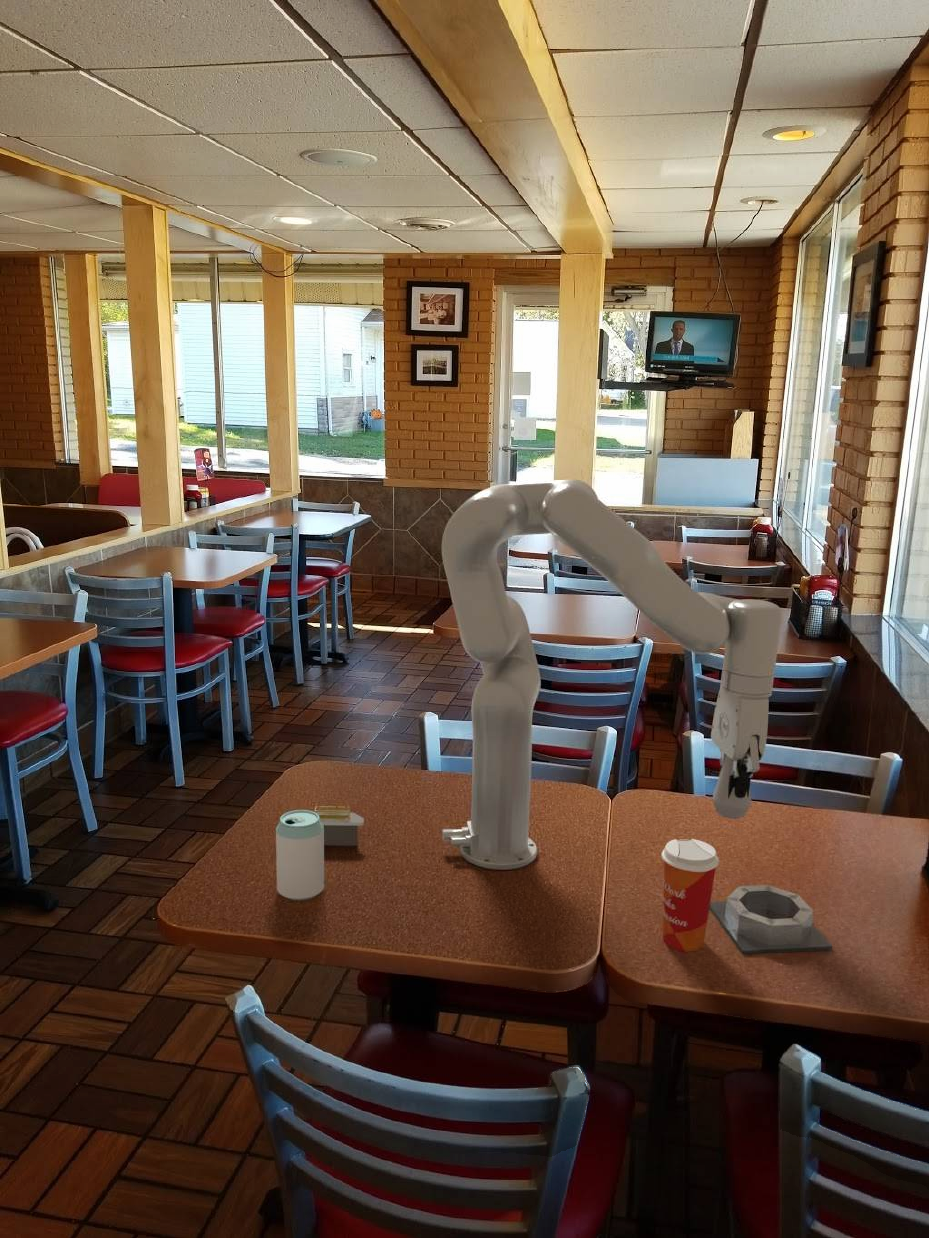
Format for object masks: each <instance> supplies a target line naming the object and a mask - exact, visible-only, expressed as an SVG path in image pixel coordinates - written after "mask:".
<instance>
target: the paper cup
mask: <svg viewBox="0 0 929 1238" xmlns="http://www.w3.org/2000/svg"><path fill="white" fill-rule="evenodd" d="M690 839H691V840H690ZM690 839H688V838H686V839H685V838H684V839H681V838H680V839H678V840H677V839H676V838H675V839H672V840H669V841H668V842H667V843H666V844H665V847H664V849H663V850H662V851H661V859H662V860H663V870H662V871H663V879H662V881H663V882H662V883H663V885H662V939H663V943H664V944H665V946H667V947H668V948H670V949H673V950H674V949H675V950H674V951H677V950H678V952H681V953H682V952H683V953H693V952H692V951H694V952H697V951H699V950H701V949H702V948H703V945H704V942H705V938H706V931H707V925H708V919H709V913H710V909H709V907H710V902H712V901H711V899H712V893H713V888H714V881H715V875H716V868H717V867H718V866H719V864H720V860H719V857H718V856H717V851H716V849H715V848H714V847H713V846H712V845H711V844H709V843H708V842H705V841H701V840H699V839H694V838H690ZM701 947H702V948H701ZM700 948H701V949H700ZM698 949H699V950H698ZM696 950H697V951H696ZM690 951H691V952H690Z"/></svg>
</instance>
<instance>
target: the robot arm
mask: <svg viewBox="0 0 929 1238" xmlns="http://www.w3.org/2000/svg"><path fill="white" fill-rule="evenodd" d="M546 534H549V535H552V536H553V537H554V538H555V539H556V540H558V541H559V542H560V543H562V544H563V545H564V546H565V547H566V548H568V549H569V550H570V551H571V552H573V553H574V554H575V556H577V557H579V559H581V560H583V561H584V562H585V563H586V564H588V566H590V567H591V568H593V570H595V571H596V572H597V573H598V574H599V575H600V576H602V577H603V578H605V580H606V581H608V582H609V583H610V584H611V585H612V586H613V587H614V588H615V589H616V590H617V591H618V592H619V593H620V594H621V595H622V596H623V597H624V598H625V599H627V600H628V601H629V602H630V603H631V605H633V606H634V607H635V608H636V609H637V610H638V611H640V613H642V615H643V616H645V617H646V618H647V619H648V620H649V621H650V622H651V623H653V625H655V626H656V628H658V629H659V630H661V631H662V632H664V634H666V635H667V636H669V638H670V639H672V640H673V641H674V642H676V643H677V644H679V645H680V646H681V647H682V648H684V649H685V650H687V651H689V652H691V653H693V654H698V655H709V654H712V653H715V652H717V651H718V650H720V649H721V648H722V647H723V646H724V645H725V646H724V647H725V648H724V655H723V660H722V661H723V662H722V671H721V678H720V685H719V686H720V688H719V691H718V694H717V699H716V703H715V708H714V713H713V720H712V725H711V726H712V727H711V733H710V738H711V741H712V742H713V743H714V745H715V746H716V747H717V748H718V749H719V751H720V757H719V763H720V764H719V765H720V766H719V767H720V768H719V775H720V772H721V769H722V766H723V762H724V759H725V756H726V755H727V756H728V757H729V758H730V759H732V760H733V775H730V777H729V785H728V799H729V797H730V795H731V792H732V790H733V788H734V787H735V796H736V797H737V798H743V797H745V795H746V791H747V796H749V788H750V789H751V780H752V778H753V777H754V776H753V775H754V773H755V772H759V771H760V768H761V767H760V761H762V759H763V758H764V756H765V751H766V747H767V746H766V744H767V739H768V738H767V737H768V724H769V704H770V703H769V701H770V699H769V697H771V696H772V694H773V688H774V687H773V685H774V680H775V679H774V678H775V671H776V664H777V656H778V649H779V641H780V640H779V639H780V635H781V627H782V618H783V615H782V614H783V613H782V610H781V608H780V606H779V605H777V604H775V603H773V602H770V601H766V600H763V599H753V598H752V599H751V598H749V599H748V598H746V599H744V598H743V599H737V598H733V597H727V596H722V595H718V594H714V593H711V592H710V593H709V592H703V591H702V592H700V591H699V592H697V591H696V590H695V589H694V588H693V587H691V586H690V585H689V584H688V583H687V582H685V581H684V580H683V579H682V578H681V577H680V576H679V575H677V573H675V571H674V570H673V569H672V568H671V567H670V566H669V565H668V564H667V563H666V562H665V560H664V559H663V558H662V556H661V554H660V553H659V552H658V549H656V547H655V546H654V545H653V544H652V543H651V541H650V540H649V539H648V538H647V537H646V536H645V535H643V534H642V533H641V532H640V531H638V530H637V529H636V528H634V527H633V526H632V525H630V524H629V523H628V522H627V521H626V520H625V519H623V518H622V517H620V516H619V515H618V514H617V513H616V512H614V511H613V510H612V509H611V508H610V507H608V506H607V505H606V504H605V503H604V502H602V501H601V500H600V499H599V497H598V495H597V493H596V491H595V489H594V488H593V487H591V485H589V484H588V483H587V482H584V481H582V480H578V479H562V480H561V479H559V480H550V481H535V482H519V483H517V482H515V483H503V484H496V485H493V486H490V487H488V488H485V489H483V490H481V491H479V492H477V493H475V494H474V495H472V496H471V497H469V498H468V499H467V500H466V501H464V502H463V503H462V504H461V505H460V506H459V507H458V508H457V509H456V510H455V512H454V513H453V514H452V516H451V517H450V518H449V520H448V522H447V524H446V525H445V528H444V530H443V535H442V539H441V556H442V563H443V568H444V571H445V576H446V579H447V584H448V588H449V592H450V598H451V603H452V607H453V610H454V615H455V618H456V622H457V627H458V631H459V632H458V633H459V637H460V640H461V643H462V646H463V649H464V650H465V652H466V653H467V654H468V656H470V658H472V659H473V660H474V661H476V662H479V663H480V667H481V670H482V674H483V675H482V676H481V678H480V679H479V681H478V682H477V685H476V687H475V689H474V692H473V696H472V699H471V725H472V772H471V773H472V775H471V777H472V778H471V779H472V780H471V806H470V807H471V810H470V820H467V821H466V826H461V828H458V829H457V828H456V829H454V828H443V829H442V831H441V837H442V838H441V839H442V841H443V842H450V845H451V847H460V853H461V856H462V857H463V858H464V860H466V861H467V862H469V863H471V864H472V865H475V866H476V867H477V866H478V867H481V868H484V869H489V870H499V871H500V870H501V871H503V870H507V871H508V870H514V869H519V868H523V867H525V866H528V865H529V864H531V863H532V862H533V861H534V860H536V858H537V854H538V846H537V845H536V843H535V842H534V841H533V840H532V839H531V838H530V837H529V824H530V823H529V822H530V804H531V803H530V802H531V799H530V798H531V780H532V776H531V775H532V756H533V753H532V751H533V737H532V736H533V733H532V731H533V714H534V713H533V712H534V707H535V703H536V701H537V699H538V697H539V693H540V690H541V682H542V681H541V673H540V669H539V664H538V660H537V656H536V652H535V648H534V644H533V639H532V635H531V632H530V627H529V623H528V620H527V616H526V613H525V611H524V610H523V608H522V606H521V605H520V603H519V602H518V601H517V600H516V599H515V598H514V597H511V596H510V595H507V593H506V589H505V584H504V583H505V582H504V578H503V574H502V571H501V568H500V565H499V563H498V558H497V551H498V548H499V546H500V545H502V544H503V543H505V542H506V541H508V540H509V539H511V538H512V537H515V536H526V535H527V536H528V535H529V536H531V535H546ZM745 754H747V756H744V755H745ZM740 762H747V764H742V765H741V766H740ZM719 775H718V776H719Z"/></svg>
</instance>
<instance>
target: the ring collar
mask: <svg viewBox="0 0 929 1238" xmlns="http://www.w3.org/2000/svg"><path fill="white" fill-rule="evenodd" d="M709 911H710V912H711V913H712V914H713V916H714V917H715V918H716V920H717V921H718V923H719V924H720V925H721V927H722V928H723V930H724V931H725V932H726V934H727V935H728V937H729V936H730V937H729V938H730V940H731V941H732V942H733V943H734V945H735V946H736V948H737V949H738V951H739V952H740V954H742V955H745V956H746V955H760V954H761V955H762V954H763V955H764V954H781V953H784V954H785V953H799V952H800V953H801V952H802V953H803V952H820V951H822V952H823V951H832V950H833V945H832V944H831V943H830V942H829V941H828V940H827V939H826V937H825V936H824V935H823V934H822V932H820V931H819V930H818V928H817V927H816V926H815V924H813V919H814V917H813V916H814V910H813V909H812V908H811V907H810V906H809V904H807V903H806V901H805V900H804V899H803V898H802V897H801V896H800V894H797V893H794V892H791V891H788V890H784V889H781V888H778V887H775V886H773V885H770V884H760V885H759V884H758V885H739V886H738V887H737V888H736V889H734V890H733V891H732V892H731V894H729V896H727V897H726V901H710V907H709Z"/></svg>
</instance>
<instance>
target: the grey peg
mask: <svg viewBox="0 0 929 1238" xmlns="http://www.w3.org/2000/svg"><path fill="white" fill-rule="evenodd" d="M744 756H747V754H745V755H744ZM742 764H747V762H740V766H741V765H742ZM721 766H722V769H721V772H720V771H719V773H720V775H718V779H717V782H716V785H715V789H714V791H713V795H712V802H713V806H714V808H715V813H717V814H718V815H719V816H721V817H722V818H727V819H733V820H737V819H741V818H744V817H745V815H746V813H747V812H748V810H750V807H751V804H752V798H751V797H752V796H751V787H750V788H749V796H747V791H746V795H745V797H743V798H737V797H736V796H735V787H734V788H733V790H732V792H731V795H730V797H729V799H728V785H729V777H730V775H733V760H732V759H730V758H729V757H728V756H727V755H726V756H725V759H724V762H723V765H721Z"/></svg>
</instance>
